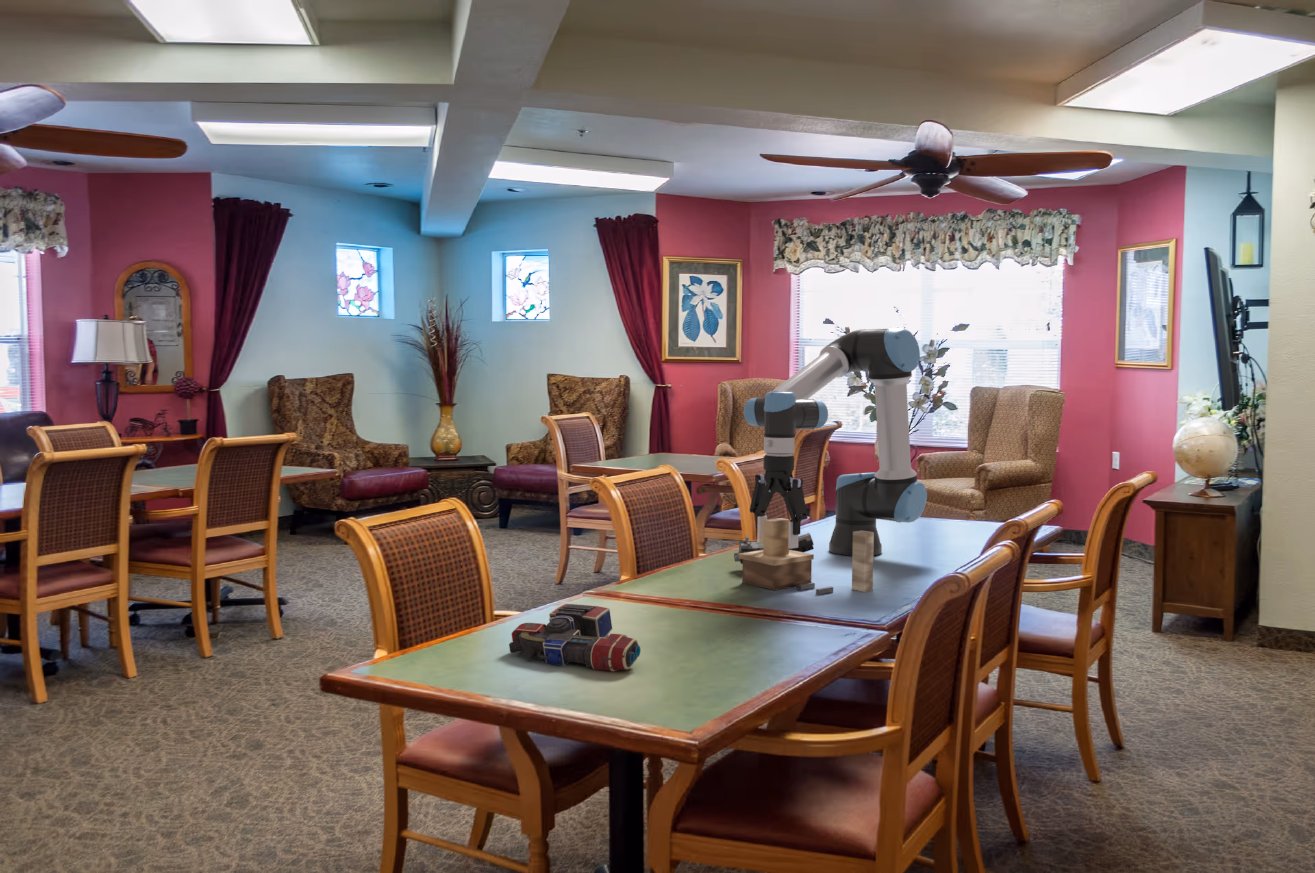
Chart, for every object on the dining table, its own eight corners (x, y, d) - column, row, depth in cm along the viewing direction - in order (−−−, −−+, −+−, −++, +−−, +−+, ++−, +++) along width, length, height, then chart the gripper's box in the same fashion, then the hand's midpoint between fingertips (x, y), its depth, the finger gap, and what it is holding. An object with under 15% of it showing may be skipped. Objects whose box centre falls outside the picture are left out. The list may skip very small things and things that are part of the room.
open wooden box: (778, 576, 253) (778, 552, 252) (811, 583, 244) (811, 559, 244) (742, 582, 244) (742, 558, 244) (775, 590, 236) (775, 565, 236)
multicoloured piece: (622, 651, 166) (666, 599, 184) (494, 638, 176) (548, 590, 194) (628, 692, 168) (671, 637, 186) (501, 678, 178) (553, 626, 196)
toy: (814, 574, 256) (815, 535, 255) (734, 572, 256) (735, 534, 256) (810, 568, 263) (811, 531, 262) (733, 567, 263) (733, 530, 263)
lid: (777, 552, 253) (778, 514, 253) (813, 559, 244) (814, 520, 243) (738, 558, 244) (739, 519, 244) (774, 565, 235) (775, 525, 234)
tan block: (860, 587, 240) (861, 530, 239) (872, 590, 237) (873, 532, 237) (851, 589, 238) (852, 531, 237) (863, 592, 235) (864, 533, 234)
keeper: (801, 585, 242) (801, 580, 242) (833, 592, 235) (833, 587, 235) (787, 587, 239) (787, 582, 239) (819, 594, 231) (819, 589, 231)
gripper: (735, 452, 249) (734, 540, 250) (803, 458, 232) (801, 553, 233) (756, 451, 253) (755, 537, 255) (824, 457, 236) (822, 549, 238)
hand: (777, 544), depth 244 cm, fingers open, 10 cm apart
